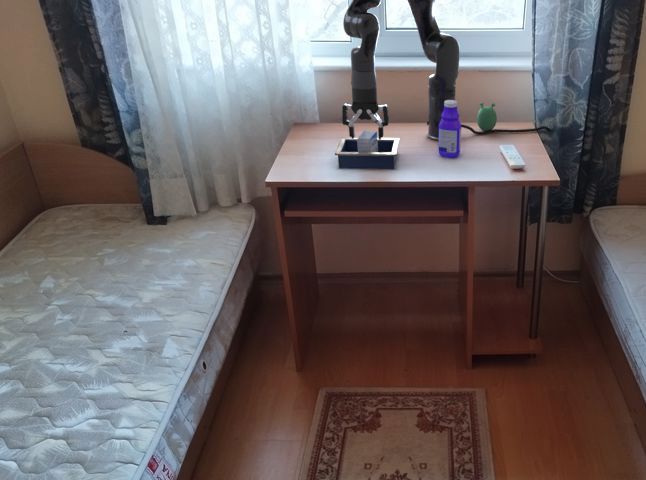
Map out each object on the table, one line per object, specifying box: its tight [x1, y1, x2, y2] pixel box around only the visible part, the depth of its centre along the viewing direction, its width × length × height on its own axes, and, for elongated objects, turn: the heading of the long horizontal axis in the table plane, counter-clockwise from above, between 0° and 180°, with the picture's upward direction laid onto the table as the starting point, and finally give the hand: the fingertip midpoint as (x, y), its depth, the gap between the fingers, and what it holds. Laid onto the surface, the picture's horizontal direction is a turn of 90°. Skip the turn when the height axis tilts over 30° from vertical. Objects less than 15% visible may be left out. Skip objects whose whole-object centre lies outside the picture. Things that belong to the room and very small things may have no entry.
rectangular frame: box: [334, 137, 400, 170], centre depth 213 cm, size 19×15×5 cm
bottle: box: [437, 99, 462, 159], centre depth 214 cm, size 7×6×17 cm
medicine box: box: [356, 130, 378, 152], centre depth 212 cm, size 8×4×9 cm, turn 168°
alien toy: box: [476, 101, 498, 132], centre depth 237 cm, size 7×8×10 cm
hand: (366, 138), depth 211 cm, fingers open, 8 cm apart
